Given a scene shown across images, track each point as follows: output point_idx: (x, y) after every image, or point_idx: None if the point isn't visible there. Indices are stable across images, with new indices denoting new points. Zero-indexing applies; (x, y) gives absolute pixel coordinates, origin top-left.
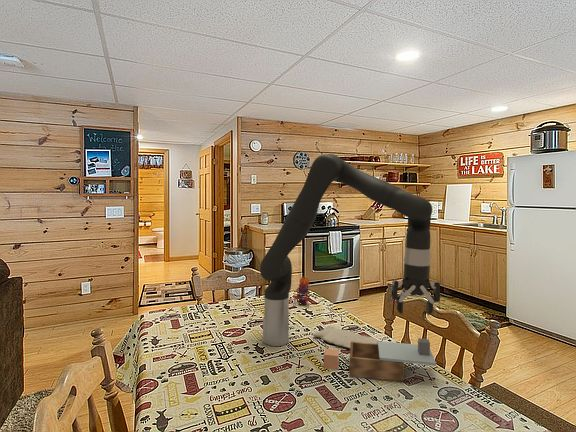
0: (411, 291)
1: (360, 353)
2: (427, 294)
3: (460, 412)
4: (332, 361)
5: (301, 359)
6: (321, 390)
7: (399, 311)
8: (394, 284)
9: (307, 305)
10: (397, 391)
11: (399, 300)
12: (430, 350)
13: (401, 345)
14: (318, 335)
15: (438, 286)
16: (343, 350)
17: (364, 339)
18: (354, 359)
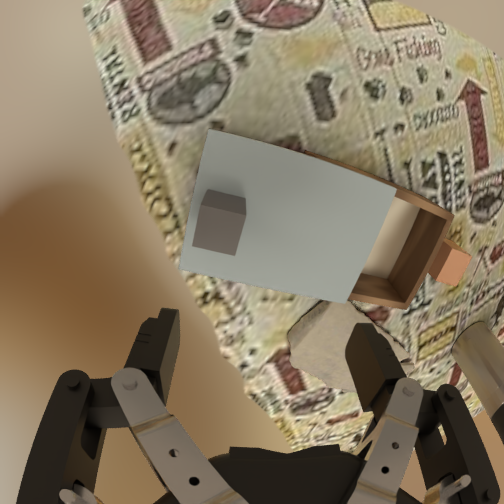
0: (365, 473)
1: (376, 282)
2: (167, 449)
3: (210, 13)
4: (451, 244)
5: (470, 276)
6: (483, 153)
7: (376, 334)
8: (495, 478)
9: (353, 451)
10: (340, 110)
11: (416, 387)
12: (185, 231)
13: (280, 272)
14: (406, 364)
15: (33, 494)
16: (381, 318)
17: (327, 352)
18: (443, 209)
